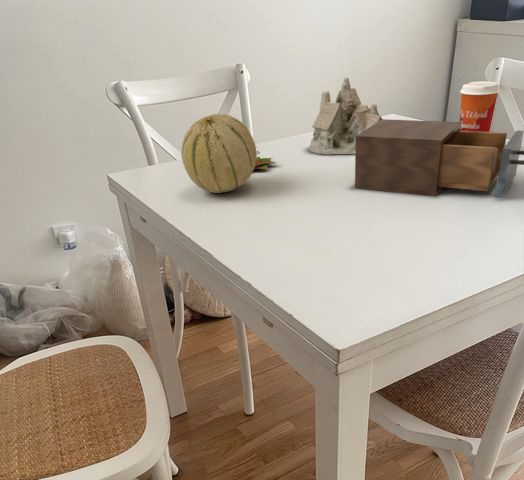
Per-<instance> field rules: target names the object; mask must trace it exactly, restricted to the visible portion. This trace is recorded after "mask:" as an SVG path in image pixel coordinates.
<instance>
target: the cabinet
mask: <svg viewBox="0 0 524 480" xmlns="http://www.w3.org/2000/svg"><path fill="white" fill-rule="evenodd" d="M456 131H461V122H460V121H442V120H441V121H438V120H414V119H413V120H412V119H411V120H409V119H387V118H386V119H383V118H382V120H380V121H379V122H377V123H375V124H374V125H372V126H371V127H369V128H368V129H366V130H364V131H363V132H361V133H360V134H358V135H357V136H356V152H355V154H354V155H355V158H354V159H355V161H354V189H360V190H369V191H370V190H372V191H379V192H380V191H381V192H390V193H401V194H411V195H421V196H431V197H432V196H433V197H436V196H437V195H438V194H439V193H440V192H441V191H442V190H443V189H444V187H438V181H439V171H440V162H441V152H442V144H443V143H444V142H445V141H446V140H447V139H449V138H450V137H451V136H452V135H453V134H454V133H455V132H456Z"/></svg>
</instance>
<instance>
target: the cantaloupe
mask: <svg viewBox="0 0 524 480" xmlns="http://www.w3.org/2000/svg"><path fill="white" fill-rule="evenodd" d="M181 144H182V145H181V152H180V153H181V160H182V164H183V166H184V167H183V168H184V169H185V171H186V173H187V175H188V178H189V179H190V180H191V181H192V182H193V183H194V184H195V185H196V186H197V187H198V188H200V189H201V190H204V191H206V192H208V193H209V192H211V193H214V194H222V193H230V192H232V191H234V190H237V189H239V188H240V187H241V186H243V185H244V184H245V183H246V182H247V181H248V179H250V178H251V176H252V174H253V172H254V170H255V169H254V167H255V164H256V157H257V156H256V155H257V153H256V152H257V146H255V145H256V143H255V141H254V138H253V136H252V134H251V132H250V131H249V129H248V128H247V126H246V125H245V124H244V123H243V122H242V121H241V120H239V119H237V118H236V117H234V116H232V115H229V114H224V113H223V114H221V113H212V114H209V115H206V116H203V117H201V118H200V119H198V120H196V121H195V122H194V123H192V125H191V126H190V127H189V128H188V130H187V131H186V133H185V134H184V136H183V140H182V142H181Z"/></svg>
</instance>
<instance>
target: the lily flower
mask: <svg viewBox="0 0 524 480" xmlns="http://www.w3.org/2000/svg"><path fill="white" fill-rule="evenodd" d="M255 147H257V146H256V144H255ZM259 154H261V152H260V151H259V150H256V164H255V167H254V170H255V169H260V170H268V165H267V164H272V165H273V164H276V165H277V163H276V162H274V161H272V159H273V157H263V158H261V157H260V156H258V155H259Z"/></svg>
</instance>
